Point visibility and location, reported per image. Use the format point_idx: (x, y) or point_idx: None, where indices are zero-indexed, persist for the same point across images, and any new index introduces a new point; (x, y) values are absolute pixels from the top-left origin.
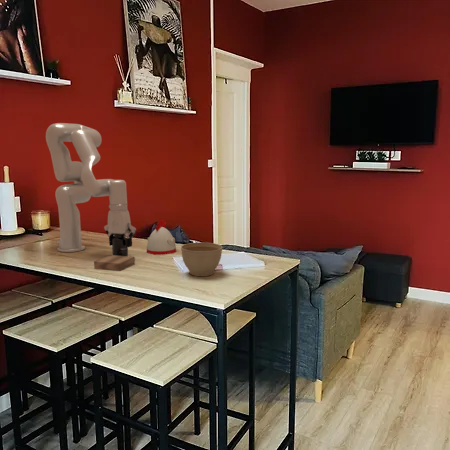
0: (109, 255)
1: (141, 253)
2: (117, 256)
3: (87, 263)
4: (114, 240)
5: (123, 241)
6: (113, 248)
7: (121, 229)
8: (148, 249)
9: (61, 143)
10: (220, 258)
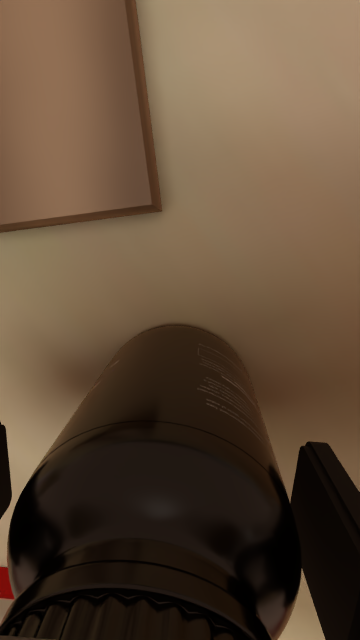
0: (136, 180)
1: None
2: (4, 176)
3: (356, 24)
4: (168, 440)
5: (23, 489)
6: (204, 370)
7: None
8: None
9: None
10: None
